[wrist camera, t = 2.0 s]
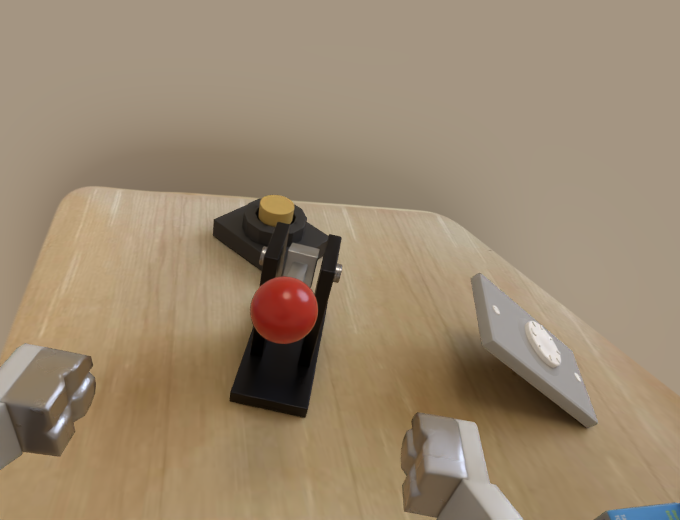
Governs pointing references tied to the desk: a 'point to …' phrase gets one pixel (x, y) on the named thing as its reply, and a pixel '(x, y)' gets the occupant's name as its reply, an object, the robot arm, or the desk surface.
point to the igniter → (263, 232)
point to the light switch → (530, 350)
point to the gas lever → (288, 299)
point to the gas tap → (285, 359)
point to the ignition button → (275, 210)
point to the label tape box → (644, 513)
